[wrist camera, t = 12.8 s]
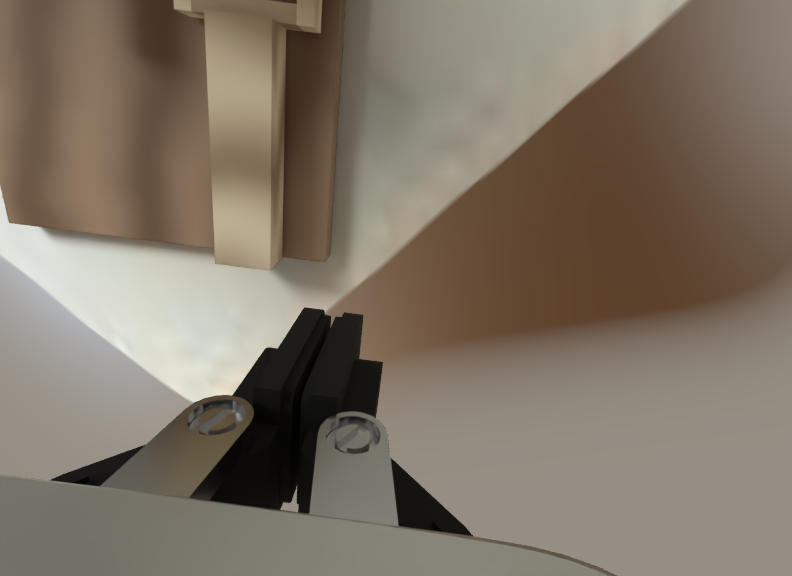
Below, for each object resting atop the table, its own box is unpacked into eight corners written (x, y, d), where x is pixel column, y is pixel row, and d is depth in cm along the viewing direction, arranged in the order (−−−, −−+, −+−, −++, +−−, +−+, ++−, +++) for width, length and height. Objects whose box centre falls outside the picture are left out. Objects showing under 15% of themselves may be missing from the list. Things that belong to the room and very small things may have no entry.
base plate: (30, 217, 26) (9, 222, 25) (-73, -279, 18) (-114, -312, 17) (329, 255, 26) (325, 262, 25) (358, -222, 18) (354, -251, 17)
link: (181, -156, 18) (151, -192, 16) (328, -137, 18) (317, -170, 16) (203, 248, 25) (184, 259, 23) (310, 262, 25) (301, 274, 23)
